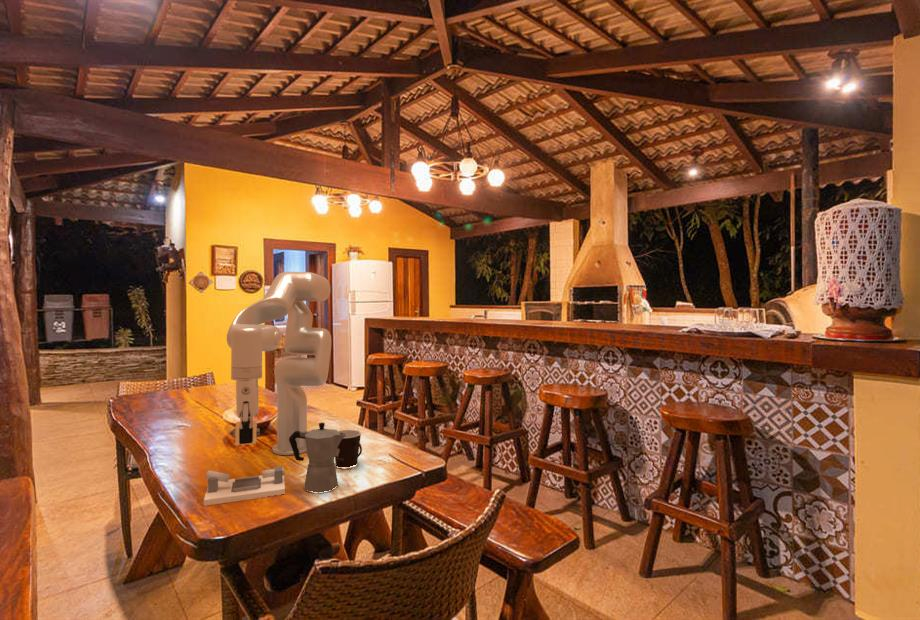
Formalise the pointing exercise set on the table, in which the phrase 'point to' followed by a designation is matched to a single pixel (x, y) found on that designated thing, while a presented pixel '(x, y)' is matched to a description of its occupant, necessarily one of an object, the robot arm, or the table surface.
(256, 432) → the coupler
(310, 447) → the coffeepot
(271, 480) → the shaft frame
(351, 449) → the coffee mug
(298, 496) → the table surface
